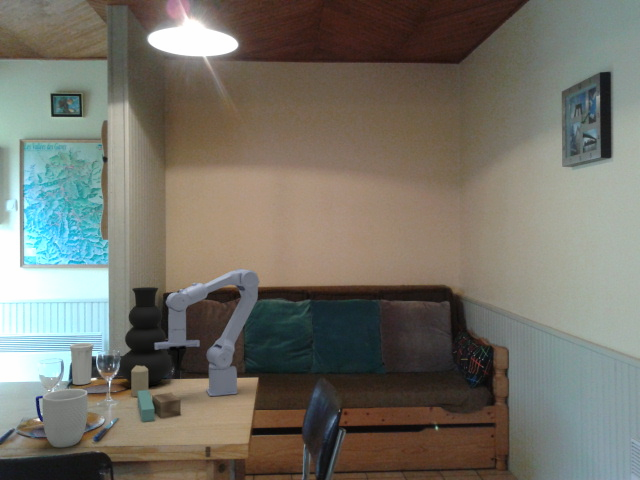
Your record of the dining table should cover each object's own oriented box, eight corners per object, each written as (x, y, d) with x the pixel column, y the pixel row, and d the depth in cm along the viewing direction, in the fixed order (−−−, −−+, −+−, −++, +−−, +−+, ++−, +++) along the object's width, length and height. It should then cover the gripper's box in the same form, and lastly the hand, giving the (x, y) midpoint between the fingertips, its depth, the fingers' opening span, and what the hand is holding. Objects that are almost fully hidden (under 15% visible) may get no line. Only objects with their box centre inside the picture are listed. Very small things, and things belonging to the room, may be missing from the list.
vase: (178, 377, 225) (178, 286, 225) (160, 390, 207) (160, 291, 206) (132, 376, 227) (131, 285, 227) (110, 389, 209) (110, 290, 208)
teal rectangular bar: (148, 400, 195) (148, 389, 195) (154, 420, 175) (154, 408, 175) (137, 401, 194) (137, 390, 194) (142, 421, 173) (142, 410, 173)
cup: (65, 385, 213) (65, 346, 213) (78, 380, 221) (77, 342, 221) (85, 386, 212) (85, 347, 212) (98, 381, 220) (97, 343, 220)
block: (171, 408, 187) (171, 392, 187) (180, 415, 180) (180, 399, 180) (152, 411, 184) (152, 395, 184) (161, 419, 177) (161, 402, 177)
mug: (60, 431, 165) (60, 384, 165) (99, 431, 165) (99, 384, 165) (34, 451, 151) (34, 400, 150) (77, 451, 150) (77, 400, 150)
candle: (150, 392, 204) (150, 364, 204) (144, 397, 199) (144, 367, 199) (135, 392, 205) (135, 363, 205) (128, 396, 199) (128, 367, 199)
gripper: (197, 325, 203) (197, 364, 203) (153, 328, 198) (153, 368, 198) (200, 328, 197) (200, 369, 197) (155, 331, 191) (156, 373, 191)
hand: (177, 369), depth 197 cm, fingers closed
